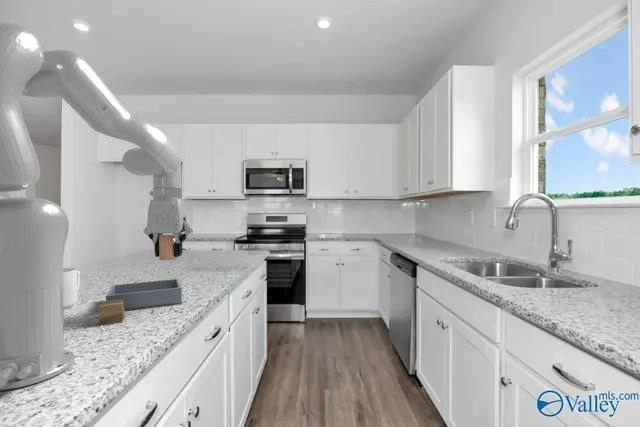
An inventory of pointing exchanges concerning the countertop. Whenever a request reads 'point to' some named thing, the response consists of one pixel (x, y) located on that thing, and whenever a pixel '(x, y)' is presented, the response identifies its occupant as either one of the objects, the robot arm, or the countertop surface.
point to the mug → (70, 287)
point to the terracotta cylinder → (166, 247)
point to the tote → (147, 294)
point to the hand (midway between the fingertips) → (168, 255)
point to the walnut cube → (111, 312)
